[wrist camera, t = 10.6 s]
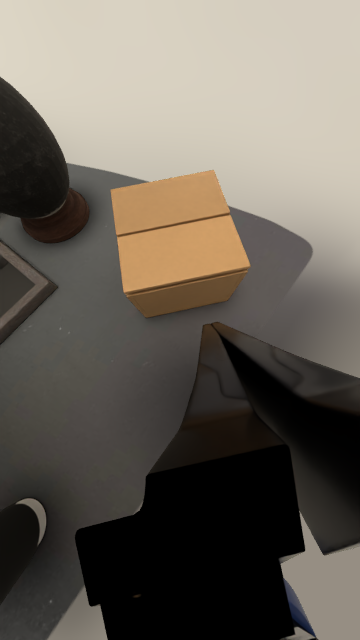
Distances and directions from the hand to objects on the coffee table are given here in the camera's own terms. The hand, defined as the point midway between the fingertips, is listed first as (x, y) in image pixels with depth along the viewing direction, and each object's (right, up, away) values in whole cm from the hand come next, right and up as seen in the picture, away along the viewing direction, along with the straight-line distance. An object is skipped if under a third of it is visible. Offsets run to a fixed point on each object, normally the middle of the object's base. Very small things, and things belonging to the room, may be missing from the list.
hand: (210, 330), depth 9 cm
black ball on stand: (-23, +19, +19) cm, 35 cm away
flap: (-2, +7, +7) cm, 10 cm away
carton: (-2, +8, +15) cm, 17 cm away
